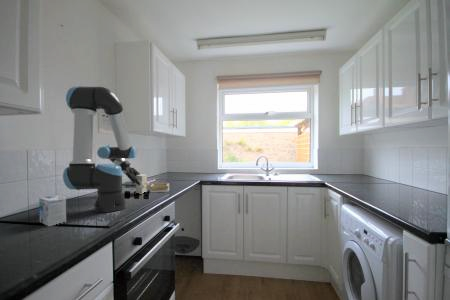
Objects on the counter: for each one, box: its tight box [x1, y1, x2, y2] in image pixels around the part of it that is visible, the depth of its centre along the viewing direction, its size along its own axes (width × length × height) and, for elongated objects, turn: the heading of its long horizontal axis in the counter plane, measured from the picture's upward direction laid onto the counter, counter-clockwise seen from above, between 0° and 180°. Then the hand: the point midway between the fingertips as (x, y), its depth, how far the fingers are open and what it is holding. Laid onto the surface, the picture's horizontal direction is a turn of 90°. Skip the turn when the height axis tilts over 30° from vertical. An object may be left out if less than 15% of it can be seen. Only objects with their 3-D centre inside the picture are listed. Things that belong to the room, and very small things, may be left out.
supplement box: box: [135, 173, 148, 195], centre depth 160 cm, size 8×5×13 cm, turn 178°
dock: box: [149, 182, 170, 194], centre depth 170 cm, size 12×12×4 cm
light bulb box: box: [38, 194, 67, 227], centre depth 101 cm, size 11×7×11 cm, turn 55°
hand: (146, 186), depth 160 cm, fingers closed on supplement box, 8 cm apart
